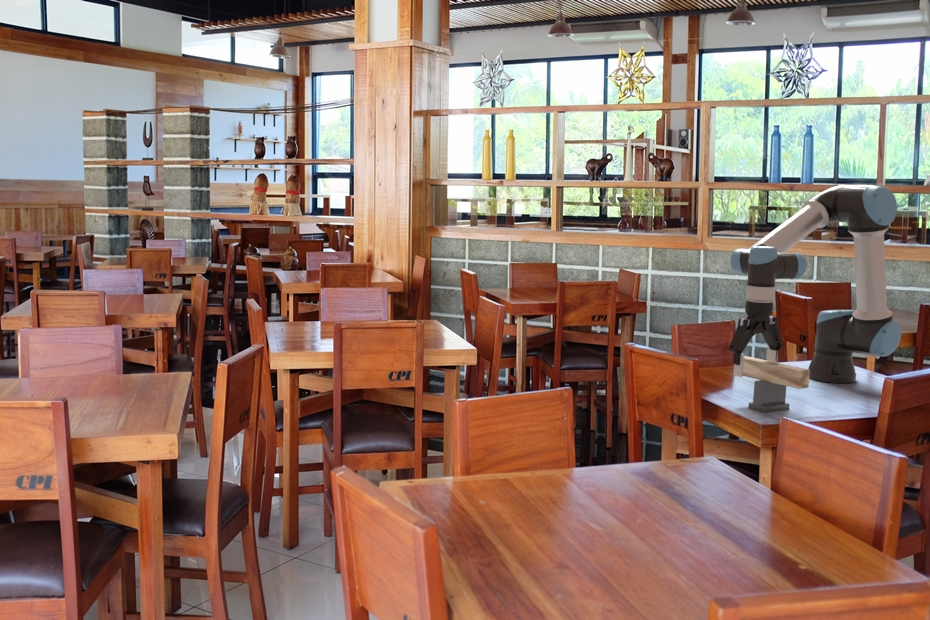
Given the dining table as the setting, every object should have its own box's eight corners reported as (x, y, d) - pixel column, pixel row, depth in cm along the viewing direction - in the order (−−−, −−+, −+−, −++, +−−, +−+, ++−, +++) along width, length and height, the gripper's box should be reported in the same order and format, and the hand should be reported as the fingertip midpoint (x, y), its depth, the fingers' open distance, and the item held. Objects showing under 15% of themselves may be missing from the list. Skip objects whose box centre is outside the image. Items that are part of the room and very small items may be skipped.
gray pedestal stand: (771, 404, 263) (774, 376, 262) (789, 408, 258) (791, 381, 257) (748, 407, 257) (750, 380, 256) (765, 412, 252) (767, 384, 251)
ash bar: (744, 372, 267) (745, 356, 266) (808, 387, 248) (809, 369, 248) (735, 374, 264) (736, 357, 264) (799, 388, 246) (800, 370, 245)
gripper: (777, 297, 268) (772, 367, 271) (718, 301, 255) (713, 375, 258) (799, 300, 262) (793, 372, 265) (739, 304, 249) (734, 380, 252)
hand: (754, 374), depth 261 cm, fingers open, 13 cm apart
